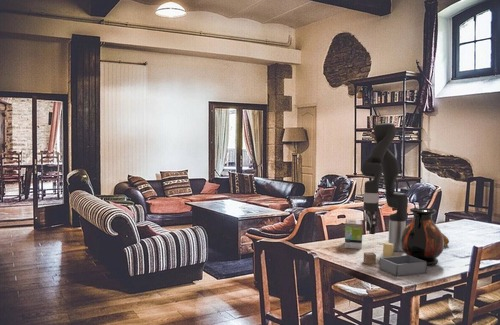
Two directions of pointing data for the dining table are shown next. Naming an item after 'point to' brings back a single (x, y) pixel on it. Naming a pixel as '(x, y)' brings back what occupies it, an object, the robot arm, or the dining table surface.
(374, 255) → the cube
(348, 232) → the tea box
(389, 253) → the candle
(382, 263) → the tote
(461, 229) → the dining table surface
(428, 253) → the amphora vase
